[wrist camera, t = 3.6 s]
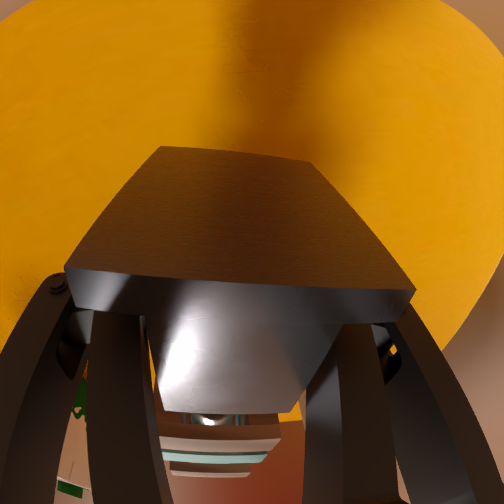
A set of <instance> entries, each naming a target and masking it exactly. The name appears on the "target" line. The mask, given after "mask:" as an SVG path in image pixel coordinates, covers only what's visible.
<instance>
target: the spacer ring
mask: <svg viewBox="0 0 504 504" xmlns="http://www.w3.org/2000/svg"><path fill="white" fill-rule="evenodd" d="M235 423H236V426H237V425H242V421H241V414H235ZM184 424H185V412H184ZM161 450H162V455H163V460H170V461H181V462H196V463H257V462H261V461H262V460H263V459H264V458H265V457H266V456H267V451H257V452H199V451H183V450H172V449H163V448H161Z"/></svg>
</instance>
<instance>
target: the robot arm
mask: <svg viewBox="0 0 504 504" xmlns="http://www.w3.org/2000/svg"><path fill="white" fill-rule="evenodd" d="M393 344H394V345H395V347H396V349H397V352H396V353H395V354H394V355H393V354H392V353H391V351H390V348H391V347H392V346H393ZM87 361H88V370H87V391H86V431H87V451H88V464H89V474H90V482H91V490H92V496H93V502H94V504H174V503H173V499H172V496H171V492H170V487H169V484H168V479H167V475H166V470H165V465H164V460H163V455H162V450H161V444H160V439H159V433H158V427H157V420H156V413H155V406H154V398H153V390H152V380H151V370H150V358H149V344H148V334H147V328H146V323H145V316H139V315H130V314H122V313H114V312H107V311H100V310H93V309H86V308H80V307H76V306H75V303H74V300H73V297H72V294H71V291H70V288H69V284H68V281H67V278H66V274H65V273H56V274H53V275H51V276H49V277H47V278H46V279H45V280H44V281H43V282H42V284H41V285H40V287H39V288H38V290H37V291H36V293H35V294H34V296H33V297H32V299H31V300H30V302H29V304H28V305H27V307H26V308H25V310H24V312H23V313H22V315H21V317H20V318H19V320H18V322H17V324H16V325H15V327H14V329H13V331H12V333H11V334H10V336H9V338H8V340H7V342H6V344H5V346H4V348H3V350H2V352H1V354H0V504H53V503H54V495H55V487H56V481H57V475H58V469H59V463H60V458H61V453H62V449H63V444H64V440H65V435H66V431H67V427H68V423H69V419H70V416H71V412H72V408H73V405H74V401H75V398H76V394H77V391H78V388H79V385H80V382H81V378H82V375H83V372H84V369H85V366H86V363H87ZM395 456H396V458H395ZM396 459H397V462H398V465H399V468H400V471H401V474H402V477H403V480H404V483H405V486H406V489H407V493H408V496H409V499H410V502H411V504H504V484H503V482H502V480H501V477H500V474H499V472H498V469H497V466H496V463H495V461H494V458H493V455H492V453H491V450H490V448H489V445H488V443H487V440H486V438H485V436H484V433H483V431H482V429H481V427H480V425H479V422H478V420H477V418H476V416H475V414H474V412H473V410H472V408H471V406H470V403H469V402H468V399H467V397H466V396H465V394H464V392H463V390H462V388H461V386H460V384H459V382H458V380H457V379H456V377H455V375H454V373H453V371H452V369H451V368H450V366H449V364H448V363H447V361H446V359H445V358H444V356H443V354H442V352H441V351H440V349H439V347H438V346H437V344H436V342H435V341H434V339H433V337H432V336H431V334H430V333H429V331H428V329H427V328H426V326H425V325H424V323H423V322H422V320H421V319H420V317H419V316H418V314H417V312H416V311H415V309H414V308H413V307H412V305H411V304H410V303H408V305H407V307H406V308H405V310H404V312H403V313H402V315H401V316H400V318H399V319H398V321H397V322H385V323H365V324H343V326H342V328H341V330H340V331H339V333H338V335H337V337H336V339H335V340H334V342H333V344H332V346H331V347H330V349H329V351H328V353H327V354H326V356H325V358H324V360H323V361H322V363H321V365H320V366H319V368H318V370H317V371H316V373H315V374H314V376H313V378H312V379H311V381H310V382H309V384H308V386H307V387H306V429H305V460H304V461H305V463H304V481H303V497H302V504H408V503H407V502H405V501H403V500H402V499H401V498H400V496H399V492H398V481H397V469H396Z"/></svg>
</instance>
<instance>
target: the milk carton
mask: <svg viewBox="0 0 504 504" xmlns="http://www.w3.org/2000/svg"><path fill="white" fill-rule="evenodd" d="M86 391H87V382H86V381H85V380H84V379H83V378H81V382H80V385H79V388H78V391H77V394H76V398H75V401H74V405H73V408H72V412H71V416H70V419H69V423H68V427H67V431H66V435H65V440H64V444H63V449H62V453H61V458H60V463H59V469H58V475H57V479H58V489H57V490H58V491H61V492H63V493H66V494H69V495H72V496H75V497H78V498H82V494H83V489H87V490H91V482H90V474H89V464H88V451H87V431H86ZM82 488H83V489H82Z"/></svg>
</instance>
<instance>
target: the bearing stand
mask: <svg viewBox="0 0 504 504" xmlns="http://www.w3.org/2000/svg"><path fill="white" fill-rule="evenodd" d="M153 398H154V406H155V413H156V420H157V427H158V433H159V439H160V444H161V448H163V449H172V450H183V451H199V452H257V451H270V450H272V449H273V448H274V446H275V445H276V444H277V443H278V442H279V441H280V439H281V432H280V426H279V419H278V413H271V414H241V421H242V425H237V426H236V423H235V414H234V416H233V419H232V423H231V425H198V424H191V413H188V412H185V424H184V412H175V411H165V410H164V406H163V402H162V398H161V394H160V390H159V386H158V382H157V378H156V376H155V384H154V392H153ZM170 471H171V473H172V475H181V476H195V477H247V476H248V475H249V474H250V473H251V470H250V463H228V464H200V463H190V462H181V461H170Z"/></svg>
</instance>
